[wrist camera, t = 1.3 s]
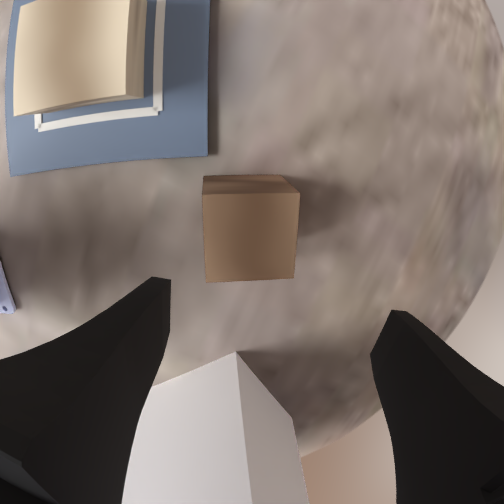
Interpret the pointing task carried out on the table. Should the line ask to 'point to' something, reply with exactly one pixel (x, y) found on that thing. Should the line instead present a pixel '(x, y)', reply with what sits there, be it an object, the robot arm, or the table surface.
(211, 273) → the walnut cube
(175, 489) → the milk
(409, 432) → the robot arm
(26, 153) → the board
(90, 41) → the maple block
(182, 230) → the table surface
